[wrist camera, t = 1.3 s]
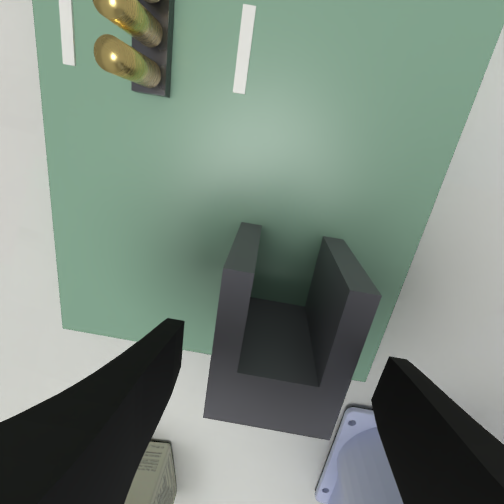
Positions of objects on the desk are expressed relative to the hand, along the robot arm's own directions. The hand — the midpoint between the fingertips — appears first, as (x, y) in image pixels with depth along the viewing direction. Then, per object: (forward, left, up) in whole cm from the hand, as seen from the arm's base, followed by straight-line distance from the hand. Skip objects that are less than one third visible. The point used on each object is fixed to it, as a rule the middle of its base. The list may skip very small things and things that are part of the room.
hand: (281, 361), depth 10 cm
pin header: (+10, +7, -6) cm, 13 cm away
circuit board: (+5, +3, -7) cm, 9 cm away
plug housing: (0, 0, -6) cm, 6 cm away
